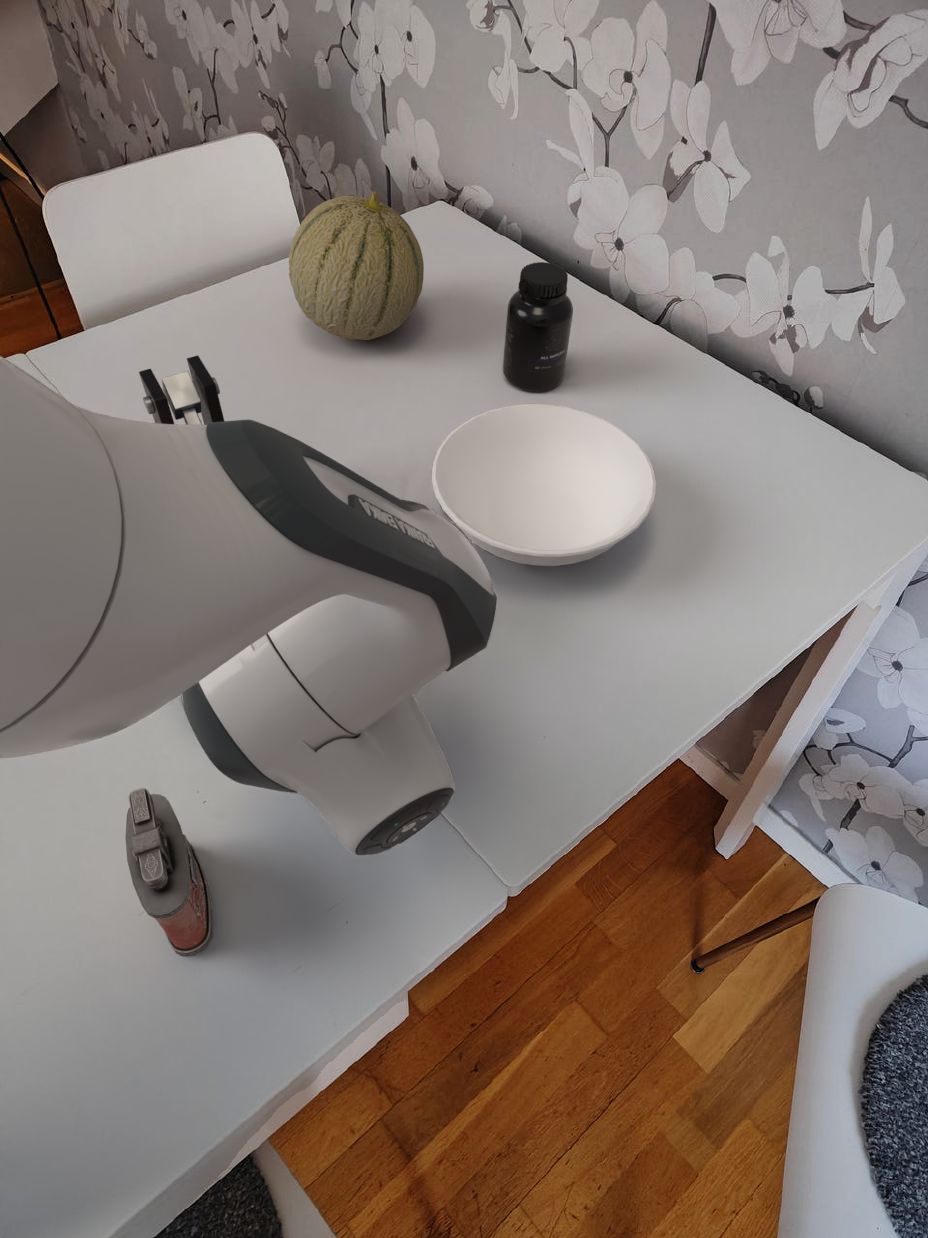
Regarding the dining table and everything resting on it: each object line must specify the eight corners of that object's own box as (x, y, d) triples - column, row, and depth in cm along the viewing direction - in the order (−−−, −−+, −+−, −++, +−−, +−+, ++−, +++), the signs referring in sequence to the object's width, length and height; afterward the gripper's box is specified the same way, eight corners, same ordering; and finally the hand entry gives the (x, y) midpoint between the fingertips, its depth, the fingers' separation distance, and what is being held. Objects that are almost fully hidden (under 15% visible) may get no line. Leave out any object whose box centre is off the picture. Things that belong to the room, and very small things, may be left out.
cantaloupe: (271, 335, 100) (248, 205, 88) (353, 281, 108) (342, 155, 96) (370, 382, 95) (360, 250, 83) (450, 321, 102) (450, 193, 91)
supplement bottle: (551, 400, 93) (563, 298, 84) (492, 383, 95) (498, 281, 86) (573, 366, 97) (587, 265, 88) (517, 350, 99) (524, 249, 90)
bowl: (468, 437, 89) (470, 385, 84) (660, 479, 86) (673, 428, 81) (401, 573, 77) (398, 521, 72) (621, 629, 74) (633, 579, 69)
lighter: (221, 945, 57) (186, 885, 49) (169, 965, 56) (124, 907, 48) (198, 837, 61) (162, 767, 53) (149, 854, 60) (105, 784, 53)
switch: (261, 535, 74) (264, 524, 70) (220, 549, 73) (221, 539, 69) (196, 382, 74) (196, 364, 71) (155, 394, 73) (152, 377, 70)
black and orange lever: (273, 528, 80) (245, 396, 69) (189, 558, 78) (145, 426, 66) (236, 465, 86) (204, 332, 74) (156, 491, 83) (110, 358, 72)
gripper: (437, 562, 62) (355, 449, 69) (153, 673, 55) (97, 535, 63) (437, 617, 67) (361, 507, 74) (176, 726, 60) (122, 592, 68)
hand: (238, 520), depth 68 cm, fingers open, 8 cm apart
